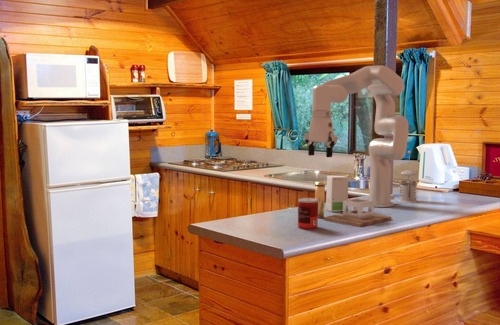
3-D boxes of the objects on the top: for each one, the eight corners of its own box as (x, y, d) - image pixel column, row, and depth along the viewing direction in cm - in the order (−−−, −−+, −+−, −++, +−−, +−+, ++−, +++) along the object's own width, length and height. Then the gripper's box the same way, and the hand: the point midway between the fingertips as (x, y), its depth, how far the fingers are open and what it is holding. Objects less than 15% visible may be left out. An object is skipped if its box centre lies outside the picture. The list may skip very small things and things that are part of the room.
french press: (416, 199, 301) (418, 149, 299) (420, 203, 290) (422, 151, 287) (396, 199, 302) (397, 149, 299) (399, 203, 291) (401, 151, 288)
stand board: (356, 213, 264) (356, 210, 264) (391, 219, 251) (391, 216, 251) (324, 219, 249) (324, 217, 248) (359, 226, 236) (359, 223, 235)
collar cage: (355, 213, 256) (356, 198, 255) (373, 217, 249) (373, 200, 249) (342, 216, 250) (342, 200, 249) (360, 219, 243) (360, 203, 242)
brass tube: (318, 215, 257) (319, 181, 256) (326, 217, 254) (326, 182, 253) (312, 217, 254) (313, 182, 253) (319, 218, 251) (320, 183, 250)
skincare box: (330, 212, 266) (331, 177, 264) (325, 209, 272) (325, 175, 271) (348, 211, 268) (349, 176, 266) (342, 208, 274) (343, 174, 273)
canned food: (315, 225, 238) (316, 197, 237) (318, 229, 230) (319, 201, 229) (296, 225, 238) (297, 197, 237) (299, 229, 230) (299, 201, 229)
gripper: (343, 115, 246) (342, 157, 248) (311, 114, 258) (310, 154, 260) (332, 115, 241) (330, 158, 242) (299, 114, 253) (298, 155, 255)
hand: (320, 156), depth 251 cm, fingers open, 9 cm apart
